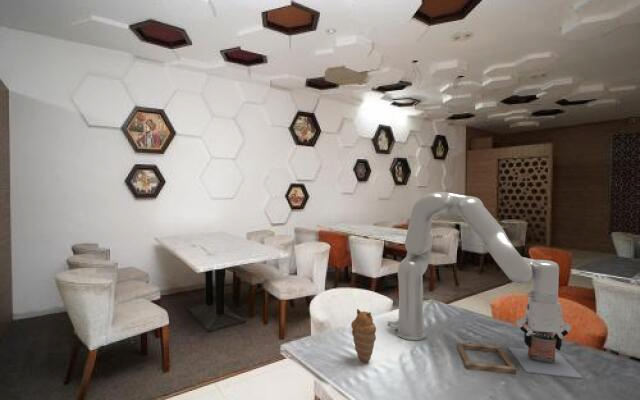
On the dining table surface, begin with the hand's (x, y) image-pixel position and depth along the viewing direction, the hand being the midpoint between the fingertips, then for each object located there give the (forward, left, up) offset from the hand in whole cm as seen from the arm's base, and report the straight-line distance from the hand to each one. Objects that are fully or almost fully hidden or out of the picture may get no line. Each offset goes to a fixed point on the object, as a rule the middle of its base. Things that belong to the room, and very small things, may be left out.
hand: (542, 346), depth 111 cm
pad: (0, 0, -5) cm, 5 cm away
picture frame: (-19, -2, -5) cm, 20 cm away
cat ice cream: (-60, -12, -6) cm, 61 cm away
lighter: (0, 0, -4) cm, 4 cm away
